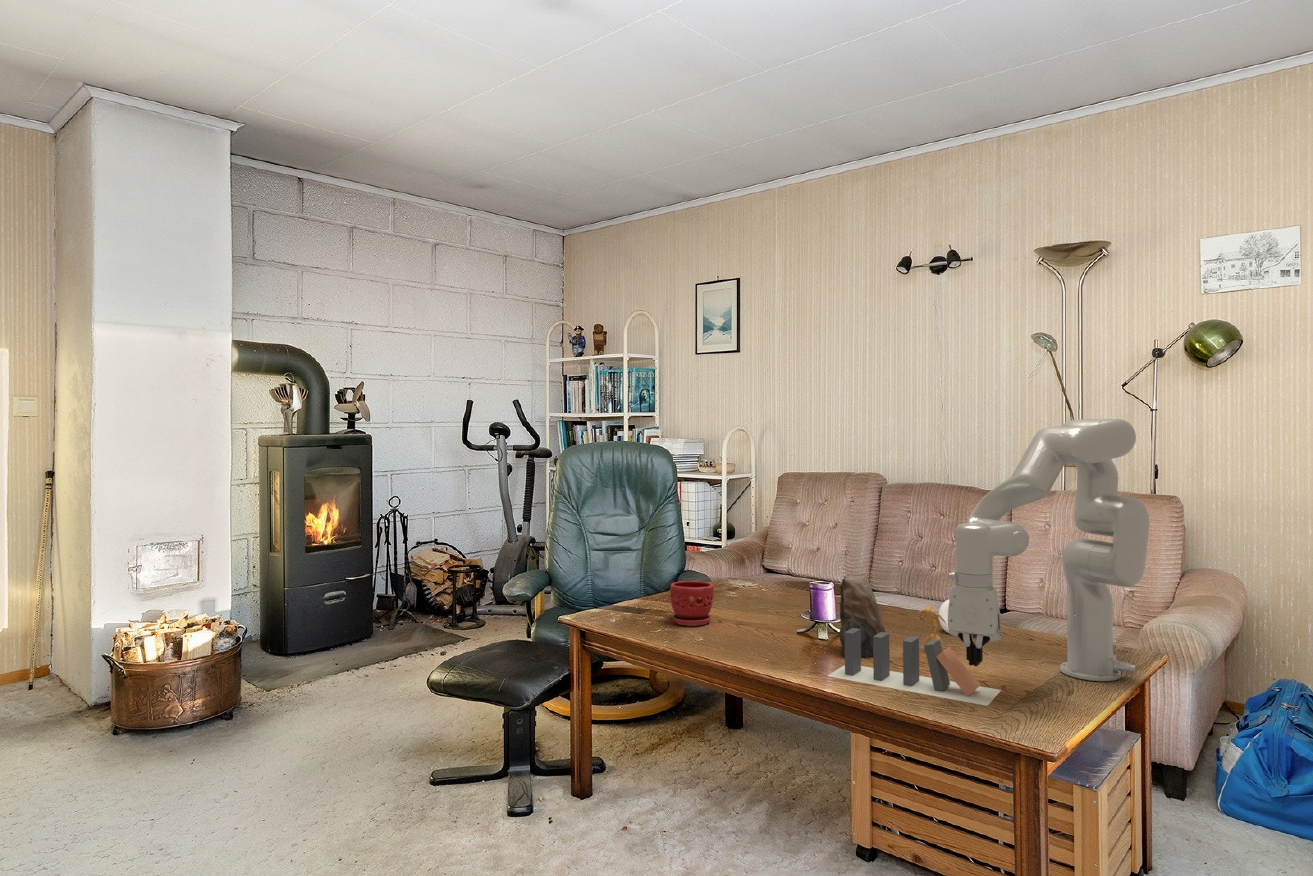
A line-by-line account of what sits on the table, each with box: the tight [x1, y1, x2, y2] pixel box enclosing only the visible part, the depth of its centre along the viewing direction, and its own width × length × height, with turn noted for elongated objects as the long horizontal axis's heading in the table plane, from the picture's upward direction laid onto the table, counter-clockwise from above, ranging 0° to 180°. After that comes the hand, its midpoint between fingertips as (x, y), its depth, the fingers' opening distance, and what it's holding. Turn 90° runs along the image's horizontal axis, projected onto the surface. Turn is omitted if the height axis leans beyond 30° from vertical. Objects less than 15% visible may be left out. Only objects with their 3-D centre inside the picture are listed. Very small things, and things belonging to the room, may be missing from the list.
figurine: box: [915, 604, 947, 644], centre depth 211 cm, size 8×6×12 cm
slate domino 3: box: [902, 635, 920, 686], centre depth 183 cm, size 2×5×10 cm, turn 144°
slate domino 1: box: [844, 628, 862, 676], centre depth 191 cm, size 2×5×10 cm, turn 144°
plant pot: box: [669, 580, 715, 627], centre depth 244 cm, size 13×13×12 cm
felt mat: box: [827, 664, 1002, 707], centre depth 183 cm, size 36×12×1 cm, turn 54°
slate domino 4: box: [923, 640, 951, 691], centre depth 180 cm, size 2×5×10 cm, turn 144°
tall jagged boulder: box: [838, 572, 891, 659], centre depth 209 cm, size 13×13×20 cm
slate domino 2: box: [872, 631, 891, 681], centre depth 187 cm, size 2×5×10 cm, turn 144°
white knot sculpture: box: [937, 599, 949, 634], centre depth 228 cm, size 11×12×9 cm
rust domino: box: [936, 646, 981, 696], centre depth 177 cm, size 2×5×10 cm
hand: (974, 664), depth 175 cm, fingers closed
